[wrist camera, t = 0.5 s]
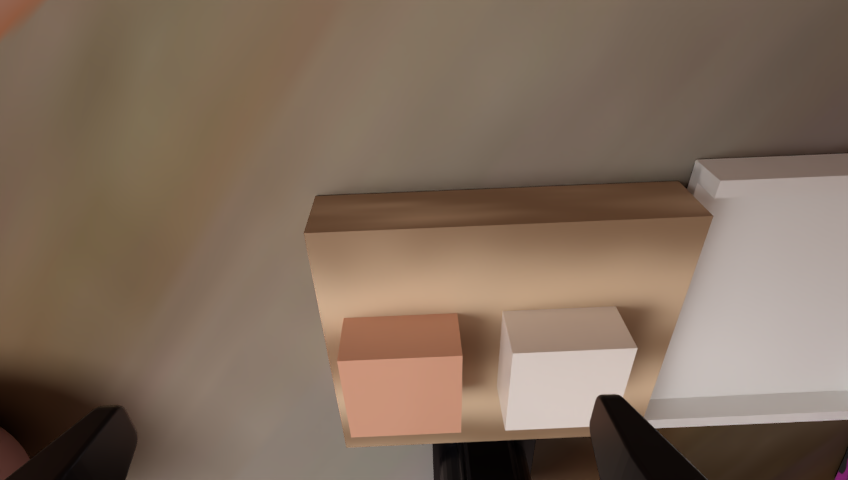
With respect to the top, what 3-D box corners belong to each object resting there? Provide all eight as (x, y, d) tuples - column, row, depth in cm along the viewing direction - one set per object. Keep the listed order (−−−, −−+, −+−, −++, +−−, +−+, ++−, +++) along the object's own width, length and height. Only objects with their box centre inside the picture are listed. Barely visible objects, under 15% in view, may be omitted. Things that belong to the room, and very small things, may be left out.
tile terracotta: (456, 388, 24) (461, 432, 22) (355, 392, 24) (351, 437, 22) (457, 313, 22) (462, 355, 20) (343, 318, 22) (336, 361, 20)
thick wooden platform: (618, 390, 30) (637, 434, 27) (351, 402, 29) (346, 447, 27) (678, 180, 22) (713, 216, 19) (315, 196, 22) (303, 233, 19)
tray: (850, 390, 30) (876, 418, 29) (623, 400, 30) (636, 429, 28) (1017, 146, 21) (1069, 166, 20) (696, 159, 21) (720, 180, 20)
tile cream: (596, 382, 25) (614, 425, 22) (496, 386, 25) (505, 430, 22) (615, 306, 22) (637, 347, 20) (502, 311, 22) (512, 353, 20)
